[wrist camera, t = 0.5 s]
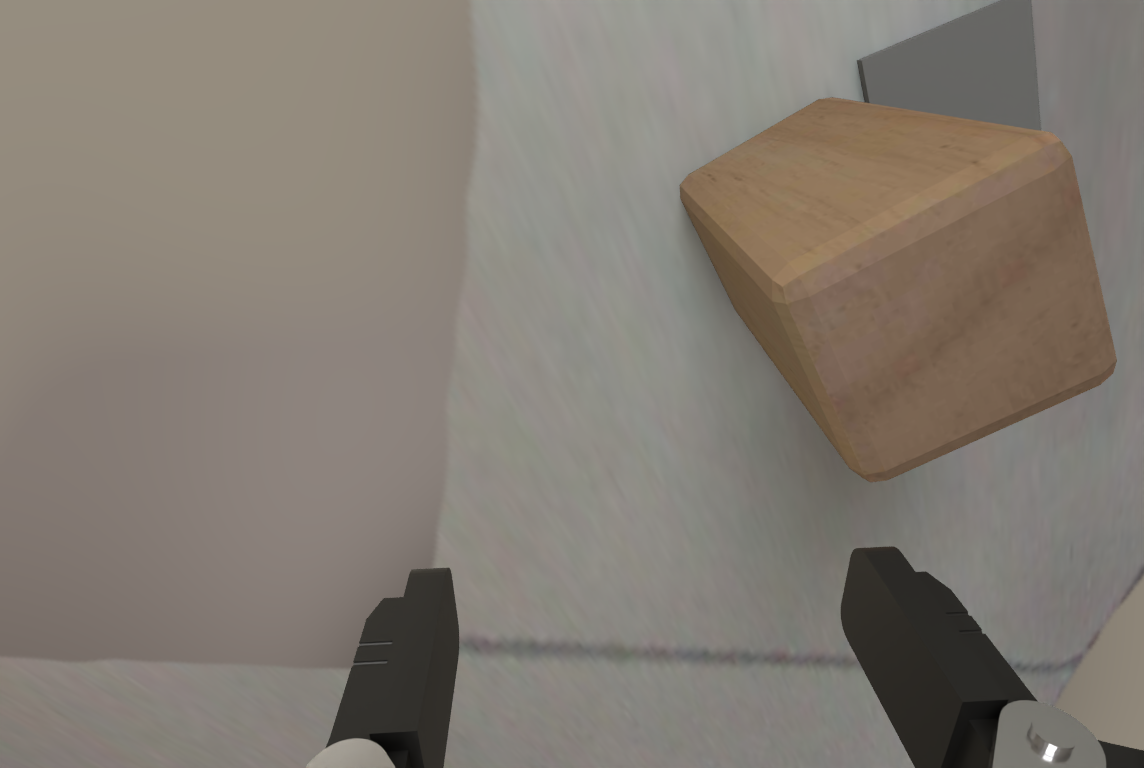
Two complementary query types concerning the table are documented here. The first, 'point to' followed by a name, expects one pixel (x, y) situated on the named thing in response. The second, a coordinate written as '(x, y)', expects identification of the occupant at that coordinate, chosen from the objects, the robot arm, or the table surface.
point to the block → (908, 274)
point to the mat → (963, 68)
